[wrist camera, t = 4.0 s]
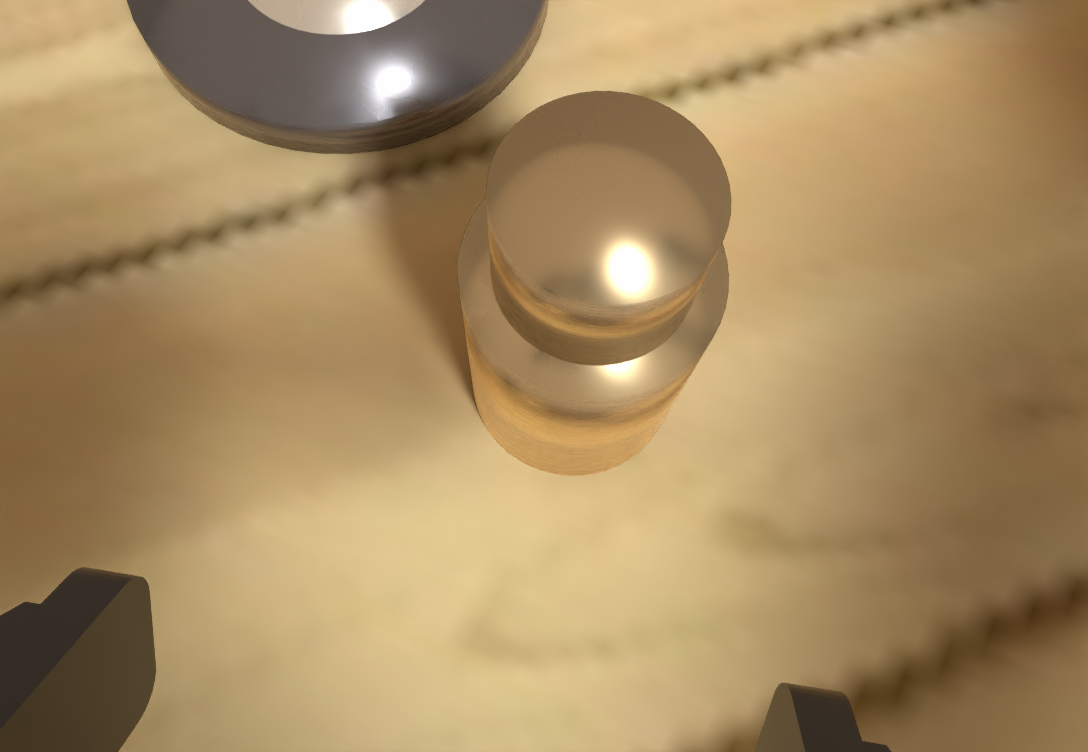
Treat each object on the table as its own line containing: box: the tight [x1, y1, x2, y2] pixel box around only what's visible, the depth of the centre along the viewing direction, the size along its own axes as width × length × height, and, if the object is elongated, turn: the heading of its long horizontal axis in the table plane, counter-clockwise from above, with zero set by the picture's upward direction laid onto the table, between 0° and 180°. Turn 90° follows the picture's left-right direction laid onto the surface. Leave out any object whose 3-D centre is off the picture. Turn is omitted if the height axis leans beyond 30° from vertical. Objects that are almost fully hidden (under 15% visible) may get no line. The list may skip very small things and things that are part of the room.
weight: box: [458, 91, 731, 475], centre depth 19 cm, size 6×6×10 cm
